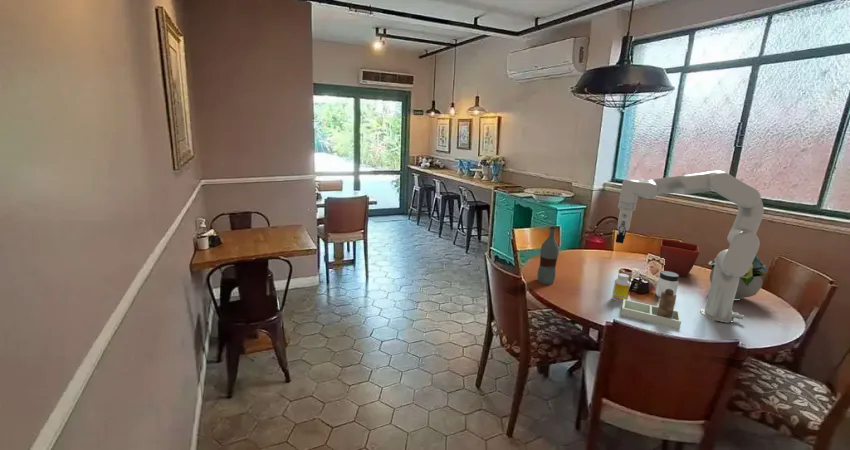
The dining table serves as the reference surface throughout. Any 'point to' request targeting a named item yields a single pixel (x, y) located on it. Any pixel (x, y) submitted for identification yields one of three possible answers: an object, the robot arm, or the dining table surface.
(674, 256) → the plant pot
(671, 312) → the pepper mill
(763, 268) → the flower arrangement
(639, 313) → the caddy
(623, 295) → the supplement bottle
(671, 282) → the jar
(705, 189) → the robot arm
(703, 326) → the dining table surface
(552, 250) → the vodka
